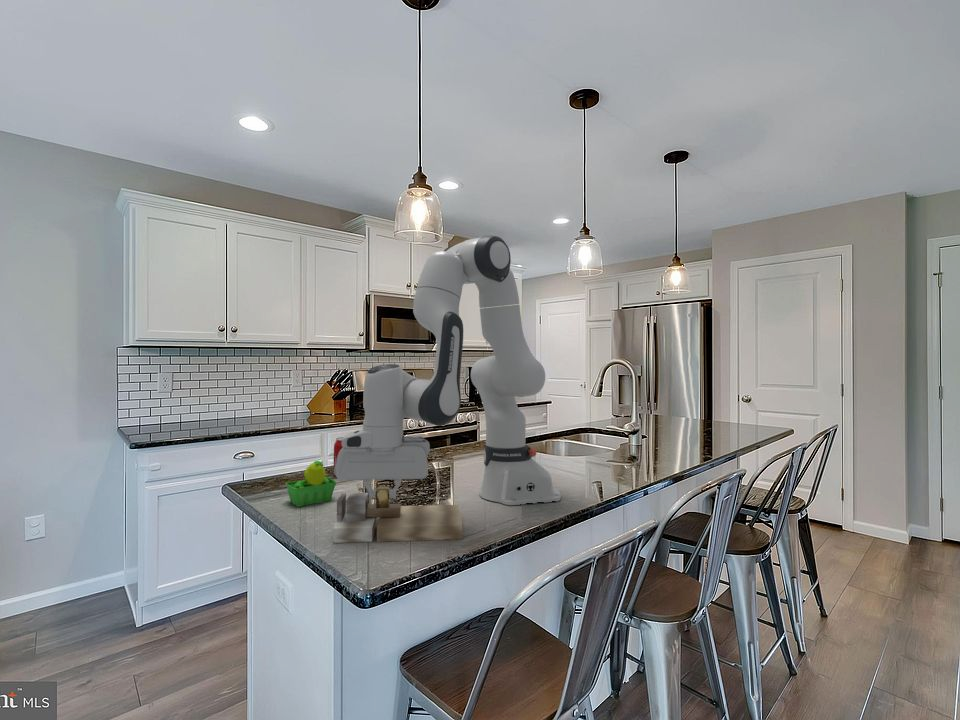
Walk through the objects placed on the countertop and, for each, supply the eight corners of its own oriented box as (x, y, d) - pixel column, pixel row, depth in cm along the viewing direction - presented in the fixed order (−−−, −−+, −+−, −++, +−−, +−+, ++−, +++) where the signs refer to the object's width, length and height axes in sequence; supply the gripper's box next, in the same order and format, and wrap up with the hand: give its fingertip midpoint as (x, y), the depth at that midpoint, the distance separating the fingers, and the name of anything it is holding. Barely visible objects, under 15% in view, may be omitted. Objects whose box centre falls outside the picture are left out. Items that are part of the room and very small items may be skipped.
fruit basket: (325, 494, 136) (326, 453, 136) (339, 501, 130) (339, 459, 129) (284, 501, 129) (284, 459, 129) (296, 510, 122) (296, 465, 122)
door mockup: (458, 517, 118) (458, 486, 118) (462, 539, 104) (462, 504, 104) (344, 519, 116) (344, 488, 115) (332, 542, 102) (333, 506, 101)
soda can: (336, 479, 152) (336, 441, 152) (331, 474, 158) (331, 437, 158) (358, 476, 155) (359, 439, 155) (353, 472, 161) (353, 435, 161)
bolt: (400, 512, 111) (401, 486, 111) (400, 516, 108) (400, 489, 108) (349, 513, 110) (349, 486, 110) (347, 517, 107) (347, 490, 107)
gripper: (429, 434, 113) (429, 493, 114) (339, 434, 111) (339, 495, 111) (429, 439, 107) (429, 502, 107) (334, 439, 105) (333, 503, 105)
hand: (382, 498), depth 109 cm, fingers closed on bolt, 3 cm apart
